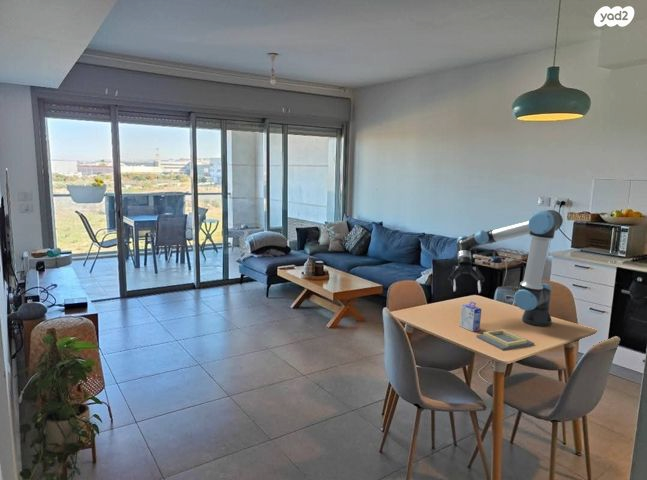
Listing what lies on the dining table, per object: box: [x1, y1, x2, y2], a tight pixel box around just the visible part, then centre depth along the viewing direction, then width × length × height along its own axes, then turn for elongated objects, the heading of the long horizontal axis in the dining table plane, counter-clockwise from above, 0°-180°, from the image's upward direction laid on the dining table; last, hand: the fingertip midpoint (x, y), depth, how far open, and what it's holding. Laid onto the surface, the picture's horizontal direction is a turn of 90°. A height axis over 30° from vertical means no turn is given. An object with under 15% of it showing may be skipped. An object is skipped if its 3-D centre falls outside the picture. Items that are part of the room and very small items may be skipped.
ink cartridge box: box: [459, 301, 482, 332], centre depth 238 cm, size 10×6×14 cm, turn 27°
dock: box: [475, 329, 535, 351], centre depth 222 cm, size 20×18×2 cm
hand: (467, 291), depth 248 cm, fingers open, 13 cm apart
